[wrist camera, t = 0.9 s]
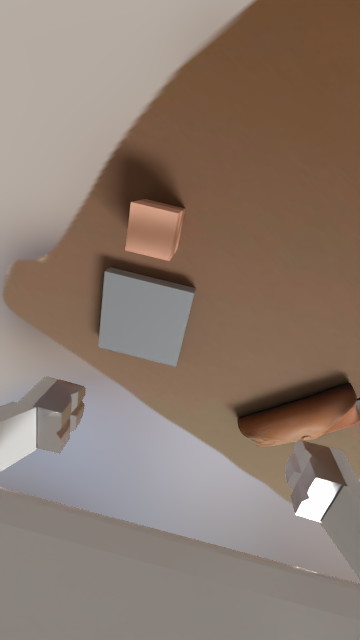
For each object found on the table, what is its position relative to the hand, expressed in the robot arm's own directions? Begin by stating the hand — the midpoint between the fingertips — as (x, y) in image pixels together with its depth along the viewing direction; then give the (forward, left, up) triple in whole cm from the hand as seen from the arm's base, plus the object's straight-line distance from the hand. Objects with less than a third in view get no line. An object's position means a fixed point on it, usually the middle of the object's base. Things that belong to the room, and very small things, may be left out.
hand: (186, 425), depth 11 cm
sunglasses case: (+22, +20, -29) cm, 42 cm away
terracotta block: (-2, -7, -28) cm, 29 cm away
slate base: (+11, -7, -28) cm, 31 cm away
